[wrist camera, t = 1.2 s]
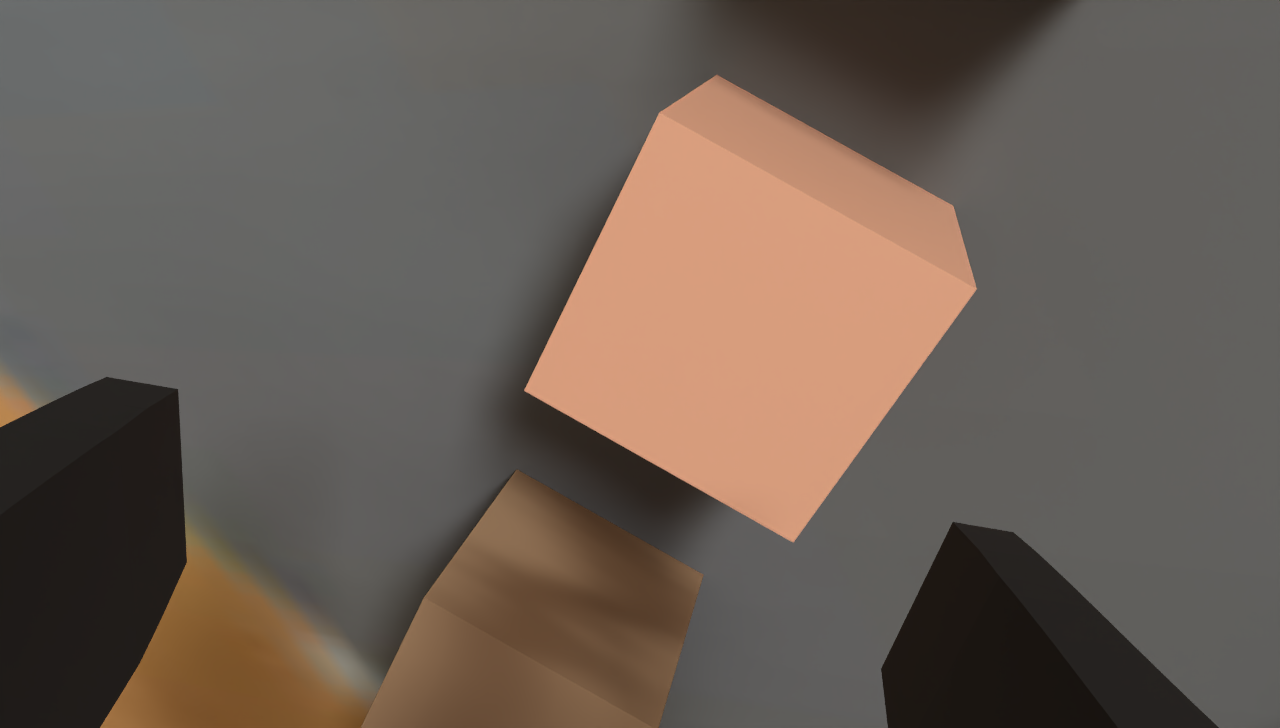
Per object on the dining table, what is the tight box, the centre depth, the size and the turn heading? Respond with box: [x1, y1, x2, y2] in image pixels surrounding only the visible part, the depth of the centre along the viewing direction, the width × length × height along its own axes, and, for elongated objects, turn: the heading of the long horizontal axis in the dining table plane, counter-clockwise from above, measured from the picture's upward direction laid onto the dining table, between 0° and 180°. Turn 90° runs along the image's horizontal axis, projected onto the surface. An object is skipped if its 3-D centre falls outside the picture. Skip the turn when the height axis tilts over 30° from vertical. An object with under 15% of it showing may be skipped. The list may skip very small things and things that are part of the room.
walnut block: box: [361, 470, 703, 728], centre depth 21 cm, size 5×5×5 cm
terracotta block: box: [524, 75, 976, 542], centre depth 16 cm, size 5×5×5 cm
